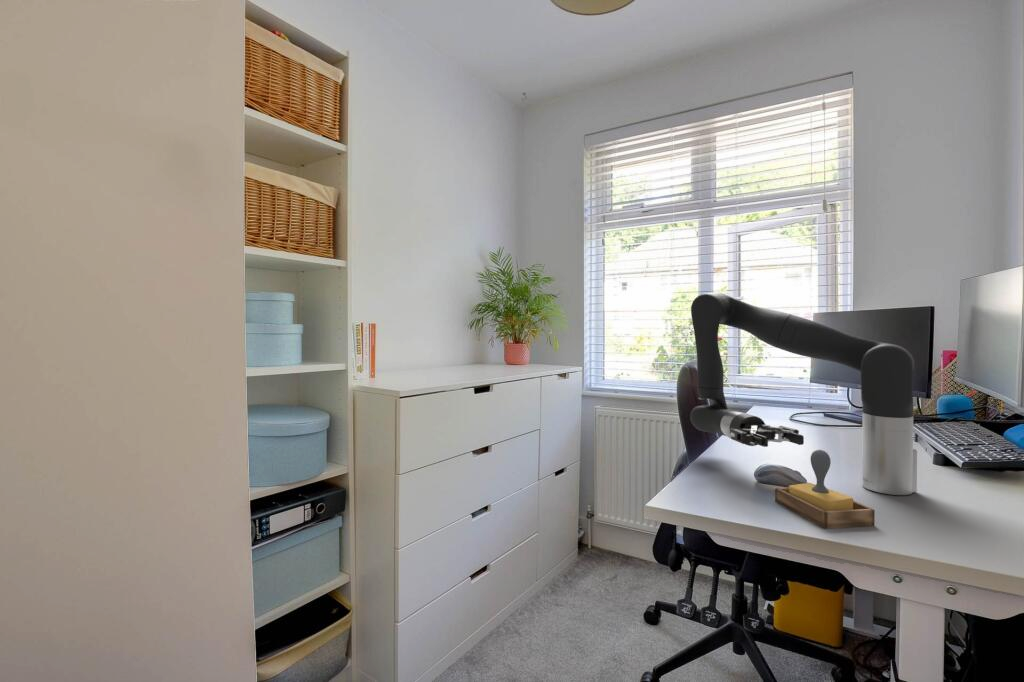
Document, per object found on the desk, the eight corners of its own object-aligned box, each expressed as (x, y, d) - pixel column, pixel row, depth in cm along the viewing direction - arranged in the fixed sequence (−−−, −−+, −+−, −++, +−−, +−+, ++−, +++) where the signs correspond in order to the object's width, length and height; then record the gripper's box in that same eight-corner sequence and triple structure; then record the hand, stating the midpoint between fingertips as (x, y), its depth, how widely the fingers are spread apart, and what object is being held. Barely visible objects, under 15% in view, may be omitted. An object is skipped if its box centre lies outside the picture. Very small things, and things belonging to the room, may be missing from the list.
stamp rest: (819, 499, 106) (819, 485, 106) (874, 525, 92) (874, 509, 92) (775, 501, 105) (775, 488, 105) (824, 528, 91) (824, 512, 91)
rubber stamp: (854, 516, 95) (854, 454, 94) (831, 520, 93) (831, 457, 93) (809, 499, 104) (809, 443, 104) (787, 502, 102) (788, 445, 102)
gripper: (715, 414, 125) (754, 426, 109) (768, 411, 127) (813, 423, 110) (716, 443, 125) (755, 459, 109) (768, 440, 127) (814, 456, 111)
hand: (784, 441), depth 110 cm, fingers open, 8 cm apart
